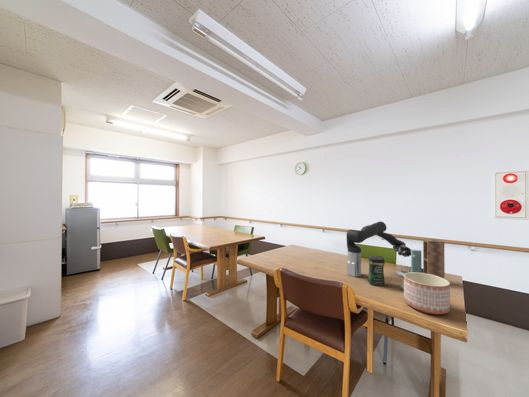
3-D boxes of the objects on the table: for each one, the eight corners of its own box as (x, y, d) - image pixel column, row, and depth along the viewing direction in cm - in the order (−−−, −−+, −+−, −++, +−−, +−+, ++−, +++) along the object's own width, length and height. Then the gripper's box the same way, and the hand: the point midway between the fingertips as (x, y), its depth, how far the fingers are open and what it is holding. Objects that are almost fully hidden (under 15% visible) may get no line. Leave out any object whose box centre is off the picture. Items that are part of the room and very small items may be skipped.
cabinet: (409, 281, 143) (409, 240, 143) (401, 272, 161) (401, 235, 160) (447, 285, 136) (447, 242, 136) (434, 275, 154) (434, 237, 154)
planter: (446, 321, 97) (446, 289, 97) (399, 306, 111) (398, 278, 111) (452, 307, 110) (452, 279, 110) (409, 294, 124) (409, 269, 124)
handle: (411, 294, 138) (390, 282, 133) (415, 282, 139) (395, 270, 134) (440, 306, 121) (418, 293, 116) (445, 293, 122) (423, 279, 117)
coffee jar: (370, 285, 137) (370, 257, 137) (366, 281, 145) (366, 254, 145) (386, 286, 136) (386, 257, 135) (381, 281, 143) (381, 254, 143)
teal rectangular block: (412, 275, 151) (412, 250, 151) (411, 274, 154) (411, 249, 154) (422, 276, 149) (422, 251, 149) (420, 274, 153) (420, 250, 153)
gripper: (395, 245, 179) (401, 250, 164) (414, 246, 175) (422, 251, 159) (395, 254, 179) (401, 260, 164) (414, 255, 175) (422, 261, 159)
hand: (411, 256), depth 161 cm, fingers open, 8 cm apart
